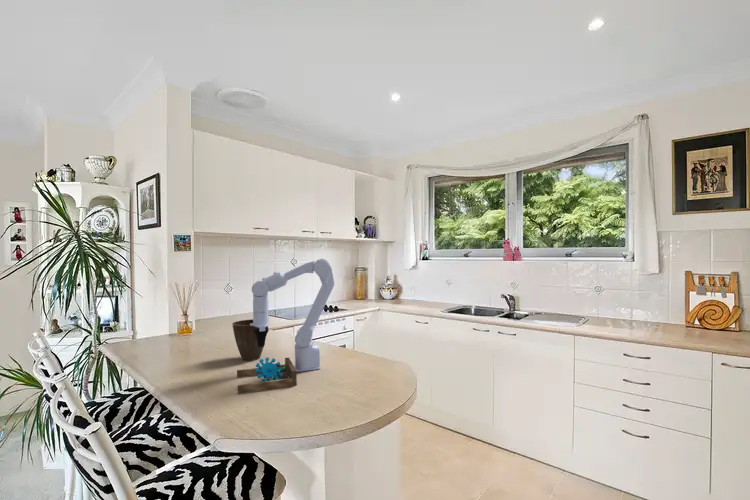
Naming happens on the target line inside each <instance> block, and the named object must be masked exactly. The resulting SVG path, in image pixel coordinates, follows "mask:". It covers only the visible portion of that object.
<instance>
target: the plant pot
mask: <svg viewBox="0 0 750 500" xmlns="http://www.w3.org/2000/svg"><path fill="white" fill-rule="evenodd" d="M250 323H253V319H252V318H251V319H243V320H238V321H237V320H236V321H234V322H232V330H233V335H234V340H235V343H236V347H237V350H238V352H239V355H240V357H241V359H242V360H243V361H244V362H245V361H246V362H248V361H249V362H251V361H256V360H260V359H261V357H262V354H263V351H264V347H258V343H257V337H256V334H255V332H254V330H253V329H254V328H258V327H255V326H250ZM266 327H268V328H269V325H268V326H266Z"/></svg>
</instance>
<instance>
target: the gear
mask: <svg viewBox="0 0 750 500" xmlns="http://www.w3.org/2000/svg"><path fill="white" fill-rule="evenodd" d="M264 360H265V362H264ZM269 361H270V357H265V359H264V358H259V361H258V362H257V363H256V364H255V368H256V370H255V373H262V374H263V375H261V374H258V375H256V376H257V379H261V378H262V381H261V382H265V381H272V380H280V378H281V377H282V376H283V372H282V370H284V369H285V366H283V367H276V366H280V365H281V363H280V361H277V362H276V359H275V358H271V361H270V362H269ZM275 362H276V363H275ZM258 368H260V369H261V370H259V369H258ZM268 379H269V380H268Z"/></svg>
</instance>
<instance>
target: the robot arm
mask: <svg viewBox="0 0 750 500" xmlns="http://www.w3.org/2000/svg"><path fill="white" fill-rule="evenodd" d="M314 273H315V274H316V275H317V276H318V277H319V280H320V283H321V286H320V289H319V290H318V292H317V295H316V297H315V299H314V301H313V304H312V306H311V307H310V310H309V312H308V313H307V316H306V318H305V320H304V322H303V324H302V326H301V327H300V328H299V329H298V330H297V331H296V335H295V337H294V343H295V344H294V364H293V366H294V367H295V369H296V372H297V373H298V372H299V373H300V372H307V371H315V370H320V369H321V364H320V363H321V361H320V360H321V359H320V358H321V357H320V346H319V344H314V342H312V339H313V333H314V330H315V328H316V326H317V323H318V322H319V319H320V316H321V314H322V313H323V310H324V308H325V306H326V304H327V302H328V300H329V297H330V295H331V293H332V292H333V291H332V290H333V288H334V287H335V279H334V274H333V268H332V266H331V264H330V262H329V261H328V260H326V259H325V258H320V259H319V258H318V259H317V260H314V261H310V262H305V263H304V264H301V265H298V266H297V267H295V268H293V269H291V270H288V271H287V272H285V273H284V272H282V271H279V272H277V271H275V272H273V274H272V275H269V276H267V277H262V278H261V280H258V281H256V282H254V283H253V284H252V285H251V293H252V297H253V300H252V318H253V323H250V326H255V327H258V328H254V329H253V330H254V332H255V334H256V337H257V343H258V347H263V348H264V347H265V344H266V339H267V338H266V337H267V334H268V333H269V330H270V329H269V325H270V322H269V299H268V298H269V292H274V291H276V290H278V289H280V288H282V287H284V286H285V287H286V285H287V282H288V281H290V280H291V279H295V278H296V277H299V276H301V275H304V274H314ZM266 326H268V327H266Z"/></svg>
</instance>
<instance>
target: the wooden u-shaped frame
mask: <svg viewBox="0 0 750 500" xmlns="http://www.w3.org/2000/svg"><path fill="white" fill-rule="evenodd" d="M293 365H294V364H293V362H292V360H291V359H290V357H285V358H284V364H280V366H276V367H283V366H285V369H284V370H282V373H284V372H285V374H286V376H287V378H279V380H275V379H273V380H272V381H269V380H267V381H265V382H263V381H258V382H251V383H245V384H244V383H243V384H238V385H237V394H238V395H240V394H246V393H253V392H254V393H255V392H260V391H268V390H274V389H280V388H288V387H295V386H297V385H298V383H297V382H298V380H297V377H298V376H297V373H298V372H296V369H295V367H294V366H293ZM256 368H258V367H253V368H252V367H251V368H244V369H237V370H236V378H238V379H239V378H248V377H256V376H258V374H261V375H263V374H262V373H255V370H256ZM258 369H259V370H261V369H260V368H258Z"/></svg>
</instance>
